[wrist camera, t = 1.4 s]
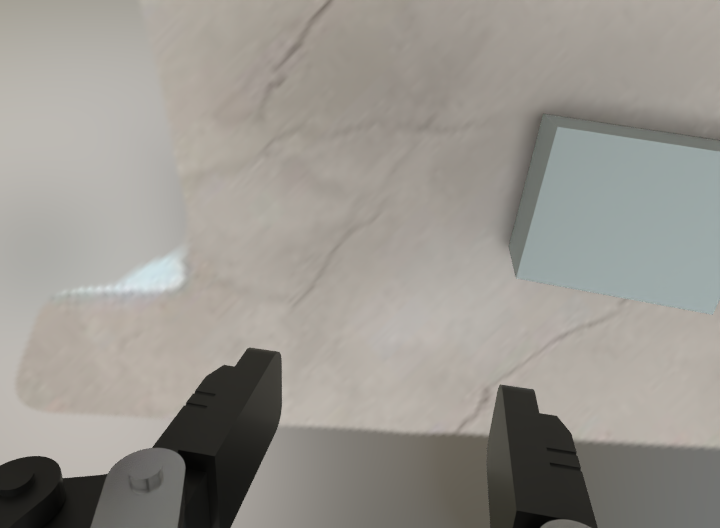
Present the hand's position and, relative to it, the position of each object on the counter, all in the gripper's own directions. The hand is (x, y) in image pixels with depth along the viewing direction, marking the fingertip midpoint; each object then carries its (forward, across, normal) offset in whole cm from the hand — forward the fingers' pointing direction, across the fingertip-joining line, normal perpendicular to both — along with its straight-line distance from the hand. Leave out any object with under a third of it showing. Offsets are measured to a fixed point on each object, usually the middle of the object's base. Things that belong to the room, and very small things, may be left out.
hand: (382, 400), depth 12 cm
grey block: (+22, -10, 0) cm, 24 cm away
